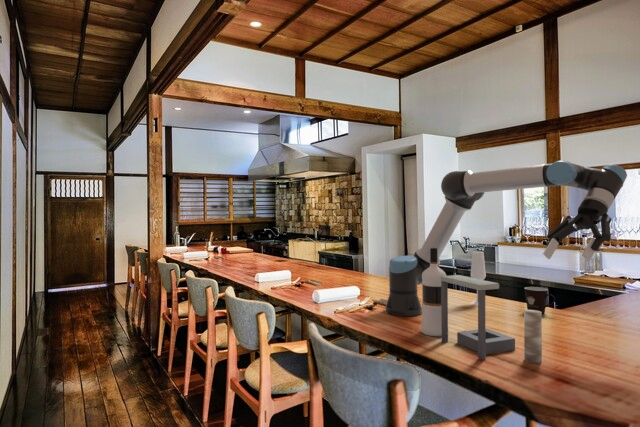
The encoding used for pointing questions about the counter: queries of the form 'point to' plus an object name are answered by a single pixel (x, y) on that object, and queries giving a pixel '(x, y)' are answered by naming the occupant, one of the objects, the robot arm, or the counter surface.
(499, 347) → the socket block
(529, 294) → the coffee mug
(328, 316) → the counter surface
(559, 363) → the counter surface
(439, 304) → the vodka
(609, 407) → the counter surface
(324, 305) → the counter surface
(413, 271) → the robot arm
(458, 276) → the small grey bench
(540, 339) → the peg
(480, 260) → the champagne flute
